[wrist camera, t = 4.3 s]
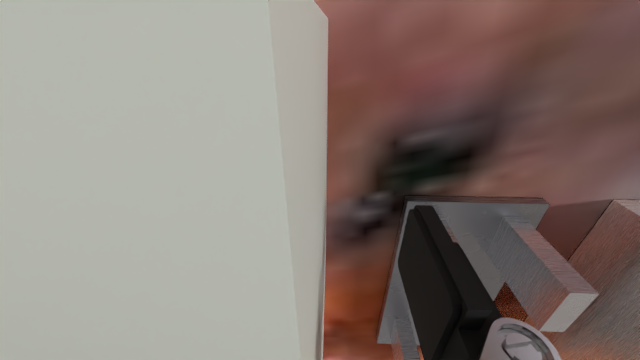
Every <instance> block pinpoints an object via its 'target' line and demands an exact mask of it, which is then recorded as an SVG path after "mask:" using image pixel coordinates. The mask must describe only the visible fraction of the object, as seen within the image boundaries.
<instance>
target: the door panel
mask: <svg viewBox="0 0 640 360" xmlns="http://www.w3.org/2000/svg"><path fill="white" fill-rule="evenodd" d="M327 98H328V18H327V17H326V15H325V14H324V13H323V12H322V10H321V9H320V8H319V6H318V5H317V4H316V3H315V1H314V0H0V360H323V332H324V298H325V263H326V191H327Z"/></svg>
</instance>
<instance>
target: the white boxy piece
mask: <svg viewBox="0 0 640 360" xmlns="http://www.w3.org/2000/svg"><path fill="white" fill-rule="evenodd" d="M416 205H431V206H433V207H434V209H435V211H436V212H437V214H438V216H439V218H440V219H441V221H442V223H443V225H444V227H445V228H446V230H447V232H448V234H449V235H450V237H451V239H452V241H453V242H456V243H458V244H459V245H460V246H461V248H462V249H463V251H464V253H465V255H466V256H467V258H468V260H469V261H470V263H471V265H472V266H473V268H474V270H475V271H476V273H477V275H478V277H479V278H480V280H481V282H482V283H483V285H484V287H485V288H486V290H487V292H488V293H489V295H490V297H491V298H492V300H493V301H494V300H495V298H496V296H497V294H498V293H499V291H500V289H501V288H502V286H503V284H504V282H506V283H507V285H508V286H509V288H510V289H511V291H512V292H513V294H514V295H515V297H516V298H517V300H518V301H519V303H520V304H521V306H522V307H523V309H524V310H525V312H526V313H527V314H528V316H527V318H526V319H525V320H524V322H525V323H527V324H529V325H531V326H532V327H534V328H535V329H537V330H538V331H540V332H541V333H542V334H543V335H544V336H545V337H546V338H547V339H548V340H549V341H550V342H551V343H552V345H553V346H554V347H555V348H556V350H557V351H558V353H559V356H560V358H561V360H640V200H613V201H612V202H611V204H610V205H609V206H608V208H607V209H606V210H605V212H604V213H603V214H602V216H601V217H600V219H599V220H598V221H597V223H596V224H595V225H594V227H593V228H592V229H591V231H590V232H589V233H588V235H587V236H586V238H585V239H584V240H583V242H582V243H581V244H580V246H579V247H578V248H577V250H576V251H575V252H574V254H573V255H572V256H571V258H570V259H569V261H568V262H567V261H566V260H565V259H564V258H563V257H562V256H561V255H560V254H559V253H558V252H557V251H556V250H555V249H554V248H553V247H552V246H551V245H550V244H549V243H548V242H547V241H546V240H545V239H544V237H543V236H542V235H541V234H540V233H539V232H538V231H537V230H536V228H537V226H538V224H539V222H540V221H541V219H542V217H543V216H544V214H545V212H546V210H547V209H548V207H549V205H550V204H549V203H548V202H547V201H545V200H544V199H543V198H506V197H457V196H408V195H405V200H404V204H403V209H402V214H401V219H400V224H399V228H398V233H397V238H396V243H395V248H394V252H393V257H392V262H391V267H390V272H389V276H388V281H387V286H386V291H385V296H384V300H383V305H382V310H381V315H380V320H379V324H378V329H377V334H376V340H377V343H378V344H391V346H392V351H393V357H394V360H420V356H419V353H418V349H417V345H420V343H419V340H418V336H417V332H416V329H415V325H414V322H413V318H412V315H411V311H410V308H409V304H408V300H407V297H406V293H405V290H404V286H403V283H402V279H401V276H400V272H399V268H398V257H399V252H400V248H401V243H402V239H403V234H404V230H405V225H406V221H407V216H408V212H409V210H410V209H414V207H415V206H416Z"/></svg>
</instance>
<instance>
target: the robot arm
mask: <svg viewBox="0 0 640 360" xmlns="http://www.w3.org/2000/svg"><path fill="white" fill-rule="evenodd" d="M398 268H399V272H400V276H401V279H402V283H403V286H404V290H405V293H406V297H407V300H408V304H409V308H410V311H411V315H412V318H413V322H414V325H415V329H416V332H417V336H418V340H419V343H420V347H421V350H422V354H423V357H424V360H561V358H560V356H559V353H558V351H557V350H556V348H555V347H554V346H553V345H552V343H551V342H550V341H549V340H548V339H547V338H546V337H545V336H544V335H543V334H542V333H541V332H540V331H538V330H537V329H535V328H534V327H532V326H531V325H529V324H527V323H525V322H522V321H520V320H518V319H513V318H503V317H502V315H501V314H500V312H499V310H498V309H497V307H496V305H495V304H494V302H493V300H492V298H491V297H490V295H489V293H488V292H487V290H486V288H485V287H484V285H483V283H482V282H481V280H480V278H479V277H478V275H477V273H476V271H475V270H474V268H473V266H472V265H471V263H470V261H469V260H468V258H467V256H466V255H465V253H464V251H463V249H462V248H461V246H460V245H459V244H458V243H456V242H453V241H452V239H451V237H450V235H449V234H448V232H447V230H446V228H445V227H444V225H443V223H442V221H441V219H440V218H439V216H438V214H437V212H436V211H435V209H434V207H433V206H431V205H416V206H415V207H414V209H410V210H409V212H408V216H407V221H406V225H405V230H404V234H403V239H402V243H401V248H400V252H399V257H398Z"/></svg>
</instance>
